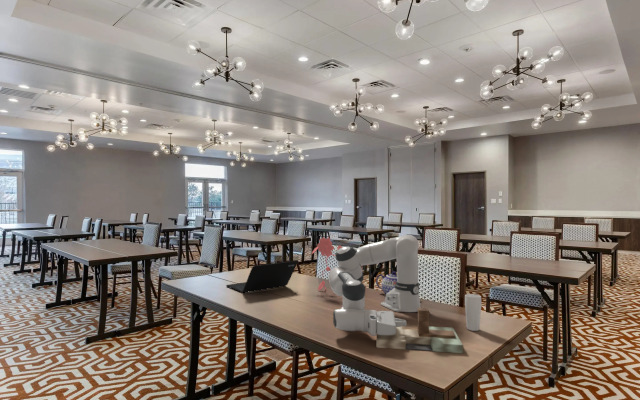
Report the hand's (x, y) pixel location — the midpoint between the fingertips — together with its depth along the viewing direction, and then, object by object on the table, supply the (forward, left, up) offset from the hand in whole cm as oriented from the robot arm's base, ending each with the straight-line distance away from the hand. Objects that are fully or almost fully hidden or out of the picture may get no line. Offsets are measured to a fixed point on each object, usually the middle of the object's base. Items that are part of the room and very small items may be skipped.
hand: (406, 323), depth 152 cm
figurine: (-86, +19, -7) cm, 88 cm away
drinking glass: (+6, +36, -7) cm, 37 cm away
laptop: (-119, -9, -8) cm, 119 cm away
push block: (+7, +9, -4) cm, 13 cm away
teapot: (-58, +51, -7) cm, 77 cm away
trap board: (+2, +4, -7) cm, 8 cm away
